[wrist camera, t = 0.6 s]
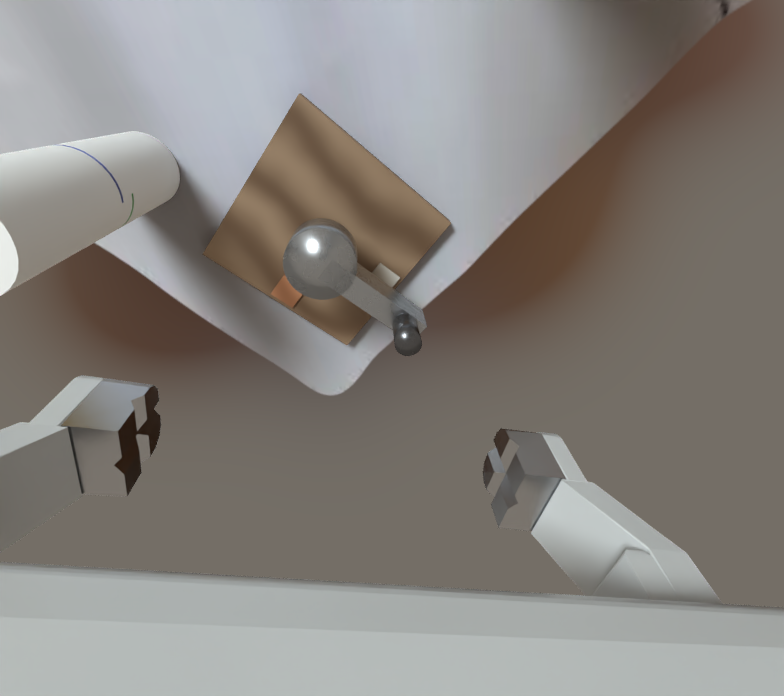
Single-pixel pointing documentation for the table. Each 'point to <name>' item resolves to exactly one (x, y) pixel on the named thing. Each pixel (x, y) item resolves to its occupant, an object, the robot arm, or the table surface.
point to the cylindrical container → (76, 197)
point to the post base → (323, 215)
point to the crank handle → (348, 280)
